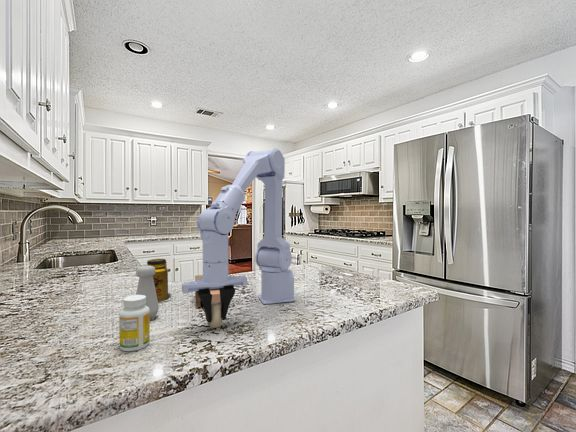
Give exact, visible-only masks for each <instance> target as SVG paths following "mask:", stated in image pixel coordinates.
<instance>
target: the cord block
mask: <svg viewBox="0 0 576 432" xmlns="http://www.w3.org/2000/svg"><path fill="white" fill-rule="evenodd" d="M209 291H210V293H211V294H212V302H211V315H212V321H211V322H210V323H209V327H210V328H212V329H215V328H217V329H218V328H220V327H222V322H223V320H222V318H221V302H220V291H219V290H209ZM203 312H204V313H205V311H204V310H203Z"/></svg>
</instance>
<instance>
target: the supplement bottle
mask: <svg viewBox="0 0 576 432" xmlns="http://www.w3.org/2000/svg"><path fill="white" fill-rule="evenodd" d="M122 301H123V303H122V305H123V307H124V308H122V309H121V310H120V312H119V317H118V318H119V319H118V320H119V321H118V322H119V324H118V325H119V332H118V333H119V338H118V339H119V341H118V342H119V343H118V344H119V346H118V347H119V349H120V350H121V351H124V352H134V351H138V350H141V349H144V348H146V347H147V346H148V345H149V344H150V340H151V339H150V337H151V336H150V335H151V334H150V333H151V331H150V329H151V328H150V326H151V325H150V324H151V323H150V321H151V320H150V309H149V307H148V306H146V305H145V304H146V296H145V295H136V294H132V295H128V296H126V297H124V298H123V300H122Z"/></svg>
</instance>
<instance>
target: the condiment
mask: <svg viewBox="0 0 576 432" xmlns="http://www.w3.org/2000/svg"><path fill="white" fill-rule="evenodd" d="M146 266H153V267H155V275H153V280H154V285H155V290H156V295H157V300H158V303H164V302H169V301H172V294H171V292H169V280H168V279H169V271H168V267H167V259H166V258H155V259H154V258H152V259H149V260H147V262H146ZM169 298H170V299H171V300H170V299H169Z"/></svg>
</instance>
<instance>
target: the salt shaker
mask: <svg viewBox="0 0 576 432" xmlns="http://www.w3.org/2000/svg"><path fill="white" fill-rule="evenodd" d="M153 275H155V267H153V266H147V265H142V266H138V267H137V268H136V269H135V276H136V277H137V278H138V282H137V288H136V292H135V295H145V296H146V304H145V305H146V306H148V307H149V309H150V321H153V320H154V319H156V317H157V314H158V312H159V309H160V306H159V302H158V300H157V295H156V290H155V285H154V280H153Z"/></svg>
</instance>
